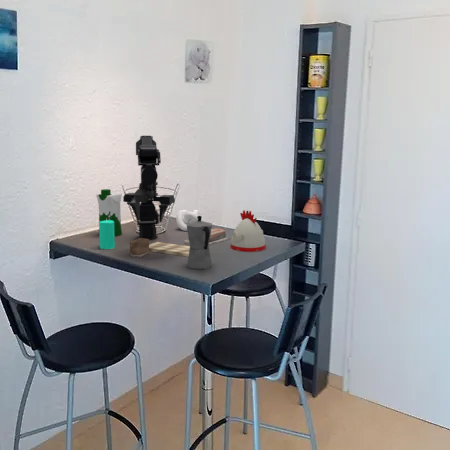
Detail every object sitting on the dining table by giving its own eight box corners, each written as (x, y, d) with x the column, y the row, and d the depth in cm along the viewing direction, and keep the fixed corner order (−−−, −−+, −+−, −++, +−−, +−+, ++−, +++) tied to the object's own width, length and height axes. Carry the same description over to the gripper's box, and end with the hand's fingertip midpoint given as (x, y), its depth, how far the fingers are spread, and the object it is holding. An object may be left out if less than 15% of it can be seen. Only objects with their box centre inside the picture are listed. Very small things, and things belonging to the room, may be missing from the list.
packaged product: (212, 226, 242) (230, 229, 236) (212, 236, 243) (229, 240, 237) (183, 232, 228) (201, 236, 222) (183, 244, 229) (201, 248, 223)
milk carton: (95, 235, 240) (94, 189, 236) (110, 231, 248) (109, 187, 243) (110, 238, 236) (109, 191, 231) (125, 234, 243) (124, 189, 239)
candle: (102, 249, 217) (100, 219, 214) (97, 246, 222) (96, 216, 219) (117, 248, 219) (116, 218, 217) (112, 244, 225) (111, 215, 222)
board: (143, 250, 217) (143, 247, 217) (157, 244, 226) (157, 241, 226) (188, 256, 209) (188, 253, 208) (200, 250, 217) (200, 247, 217)
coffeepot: (180, 262, 202) (180, 213, 198) (205, 259, 205) (205, 211, 201) (195, 273, 188) (195, 221, 184) (220, 271, 191) (221, 219, 187)
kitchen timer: (247, 241, 233) (248, 206, 230) (272, 247, 224) (273, 211, 221) (223, 247, 224) (224, 210, 221) (248, 253, 214) (249, 215, 211)
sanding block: (129, 255, 209) (129, 241, 208) (140, 251, 215) (140, 237, 214) (138, 257, 207) (138, 243, 206) (149, 253, 214) (149, 239, 212)
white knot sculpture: (180, 233, 247) (180, 213, 245) (172, 227, 258) (172, 208, 256) (204, 231, 251) (204, 211, 249) (196, 226, 262) (196, 207, 260)
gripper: (115, 181, 202) (117, 223, 205) (163, 184, 197) (163, 227, 200) (129, 178, 213) (130, 218, 216) (175, 180, 208) (175, 221, 211)
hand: (149, 221), depth 210 cm, fingers open, 9 cm apart
